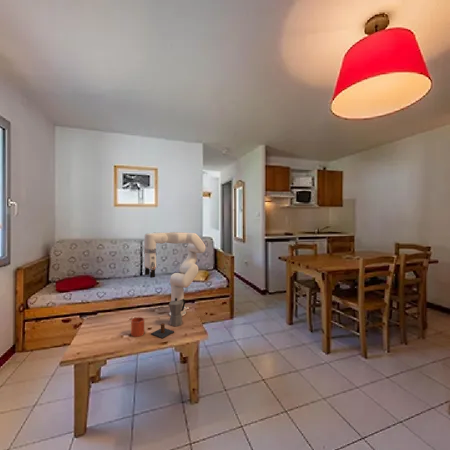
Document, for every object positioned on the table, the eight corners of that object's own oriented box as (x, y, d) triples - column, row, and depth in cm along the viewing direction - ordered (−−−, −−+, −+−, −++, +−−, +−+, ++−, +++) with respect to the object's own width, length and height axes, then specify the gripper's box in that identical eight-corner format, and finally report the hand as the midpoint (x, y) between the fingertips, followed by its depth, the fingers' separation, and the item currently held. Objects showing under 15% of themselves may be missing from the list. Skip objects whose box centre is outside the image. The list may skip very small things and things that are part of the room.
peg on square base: (162, 328, 162) (162, 319, 162) (174, 332, 157) (174, 323, 157) (151, 334, 154) (151, 325, 154) (162, 338, 148) (162, 329, 148)
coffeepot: (173, 329, 162) (173, 302, 161) (164, 325, 167) (164, 299, 167) (189, 321, 174) (189, 296, 174) (180, 318, 180) (180, 293, 179)
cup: (141, 329, 160) (141, 316, 160) (146, 334, 154) (146, 319, 154) (129, 333, 155) (129, 319, 155) (134, 338, 149) (134, 323, 149)
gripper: (160, 252, 163) (160, 277, 163) (150, 249, 176) (150, 273, 176) (149, 253, 158) (149, 279, 158) (140, 250, 172) (140, 274, 172)
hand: (149, 276), depth 167 cm, fingers open, 9 cm apart
